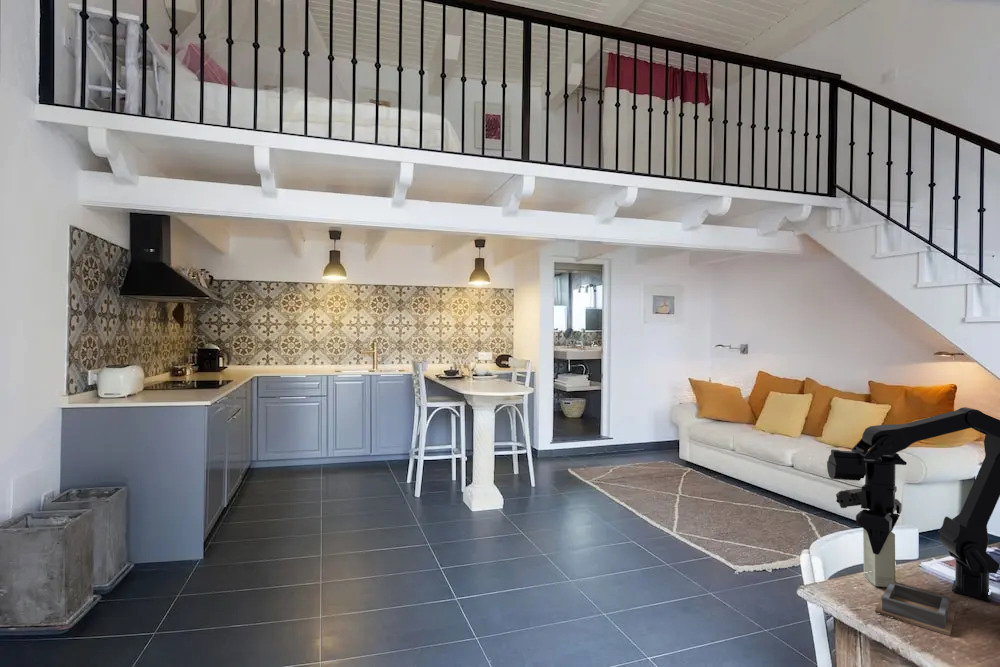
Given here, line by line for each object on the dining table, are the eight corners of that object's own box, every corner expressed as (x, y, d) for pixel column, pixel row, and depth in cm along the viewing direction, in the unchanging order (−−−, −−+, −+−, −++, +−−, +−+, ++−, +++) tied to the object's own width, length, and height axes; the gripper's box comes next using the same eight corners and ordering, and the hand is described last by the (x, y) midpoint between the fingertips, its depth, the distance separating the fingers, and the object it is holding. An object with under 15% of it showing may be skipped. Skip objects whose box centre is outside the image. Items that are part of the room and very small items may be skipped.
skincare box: (896, 588, 123) (897, 535, 123) (874, 586, 124) (874, 533, 124) (882, 576, 129) (883, 525, 129) (861, 574, 130) (862, 523, 130)
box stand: (885, 592, 122) (885, 578, 121) (955, 612, 113) (955, 597, 113) (875, 613, 113) (875, 598, 113) (950, 635, 105) (950, 619, 105)
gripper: (848, 468, 139) (847, 529, 139) (830, 483, 125) (829, 551, 125) (902, 476, 131) (901, 541, 131) (889, 493, 117) (888, 565, 118)
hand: (879, 549), depth 126 cm, fingers closed on skincare box, 7 cm apart
